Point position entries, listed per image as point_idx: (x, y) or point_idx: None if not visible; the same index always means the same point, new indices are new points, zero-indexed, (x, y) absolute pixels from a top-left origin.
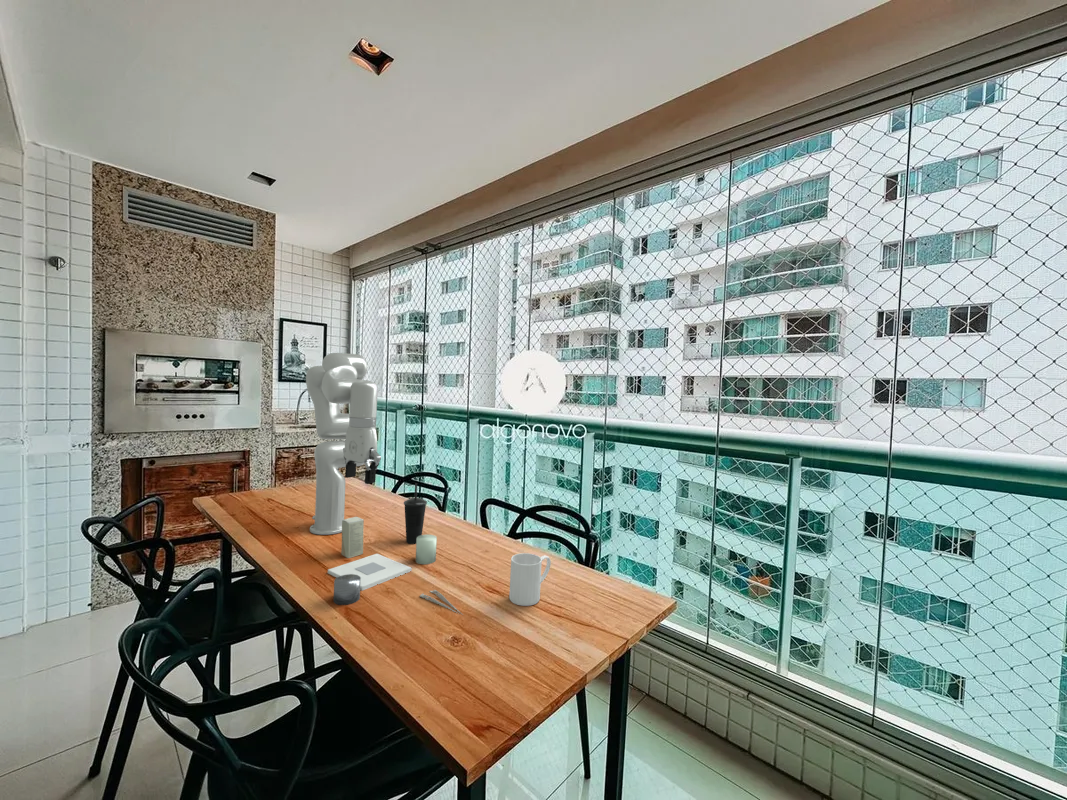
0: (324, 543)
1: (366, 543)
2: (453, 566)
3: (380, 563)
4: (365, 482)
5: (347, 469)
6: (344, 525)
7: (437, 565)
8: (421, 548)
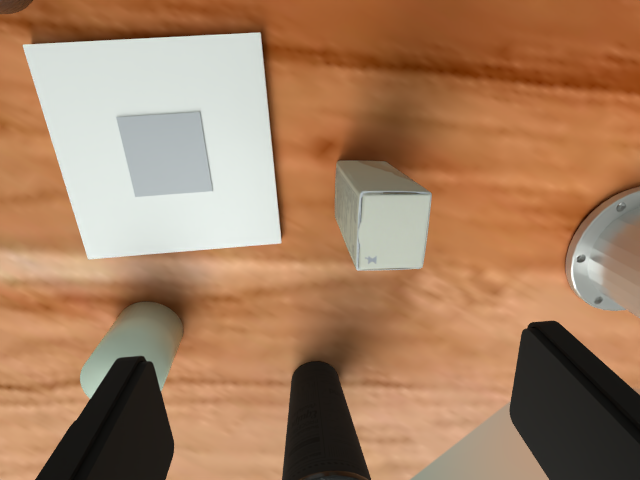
0: (525, 170)
1: (412, 272)
2: (53, 360)
3: (189, 205)
4: (122, 362)
5: (596, 402)
6: (396, 185)
7: (89, 332)
8: (111, 335)
